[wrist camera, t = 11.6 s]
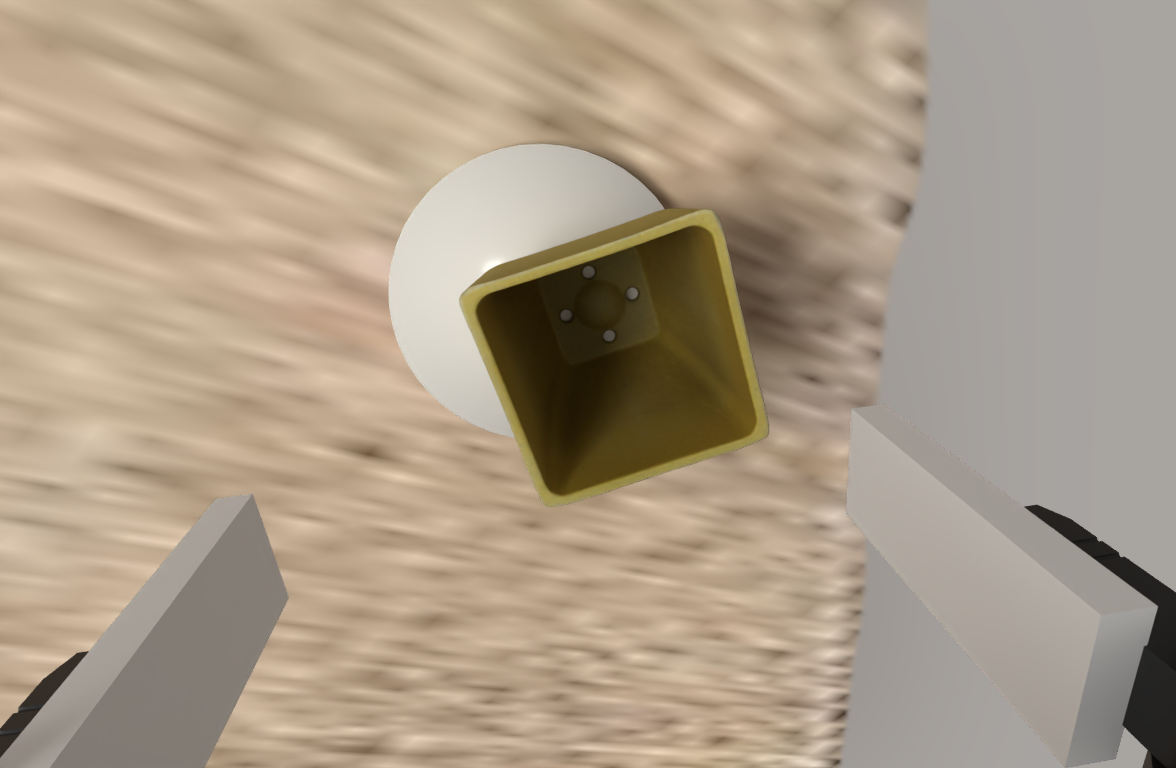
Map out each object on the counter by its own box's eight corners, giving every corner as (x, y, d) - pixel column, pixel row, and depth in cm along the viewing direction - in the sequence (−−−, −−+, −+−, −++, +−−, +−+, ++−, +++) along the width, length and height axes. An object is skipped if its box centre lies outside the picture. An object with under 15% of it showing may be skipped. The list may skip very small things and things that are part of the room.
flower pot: (538, 414, 32) (544, 515, 24) (472, 246, 29) (453, 294, 20) (707, 358, 32) (773, 439, 23) (660, 181, 28) (719, 203, 20)
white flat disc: (691, 410, 34) (697, 419, 33) (426, 446, 33) (422, 457, 32) (677, 126, 29) (683, 126, 28) (361, 163, 28) (355, 164, 27)
